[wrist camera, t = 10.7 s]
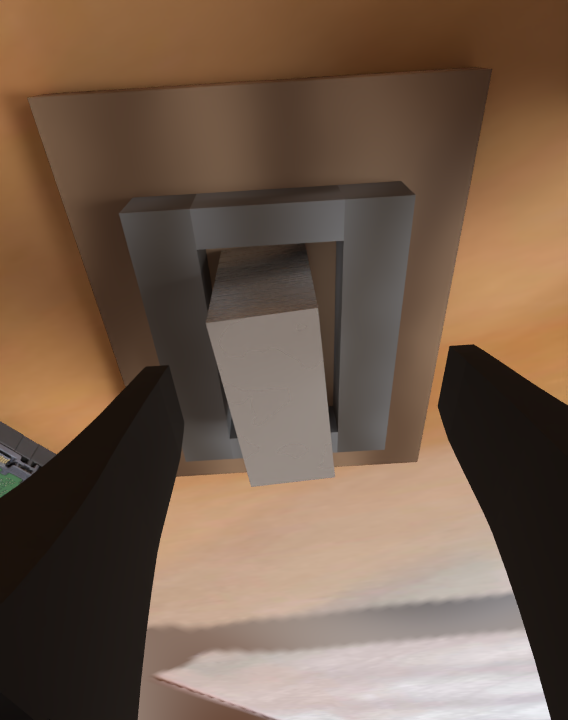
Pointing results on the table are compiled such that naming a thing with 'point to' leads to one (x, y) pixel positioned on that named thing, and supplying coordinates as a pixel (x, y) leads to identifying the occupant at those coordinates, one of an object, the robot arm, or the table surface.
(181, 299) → the slot stand
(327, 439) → the gray rectangular block
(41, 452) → the disk drive
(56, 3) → the table surface
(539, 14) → the table surface
